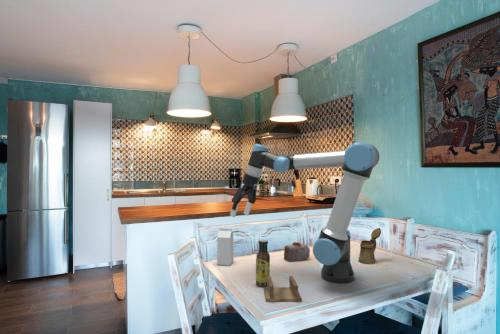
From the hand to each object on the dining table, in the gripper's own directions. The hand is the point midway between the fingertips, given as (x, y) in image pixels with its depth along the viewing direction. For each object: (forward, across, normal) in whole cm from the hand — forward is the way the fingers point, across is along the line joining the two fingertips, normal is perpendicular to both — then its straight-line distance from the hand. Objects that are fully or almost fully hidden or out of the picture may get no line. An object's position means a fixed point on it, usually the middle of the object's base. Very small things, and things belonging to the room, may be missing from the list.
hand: (239, 215), depth 160 cm
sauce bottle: (+22, +8, +26) cm, 35 cm away
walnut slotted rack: (+19, +15, +38) cm, 45 cm away
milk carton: (+31, -11, -4) cm, 33 cm away
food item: (+19, -36, +25) cm, 48 cm away
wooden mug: (+7, -51, +60) cm, 79 cm away
